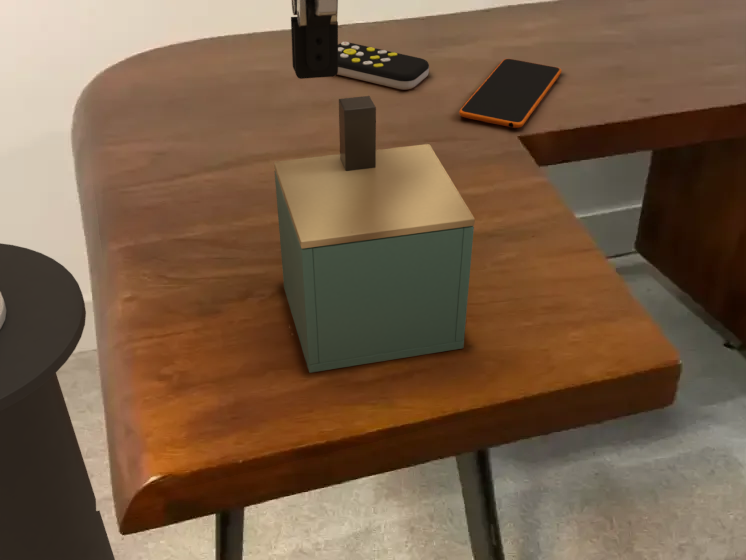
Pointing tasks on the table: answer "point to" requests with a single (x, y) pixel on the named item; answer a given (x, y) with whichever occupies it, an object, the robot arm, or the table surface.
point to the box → (376, 294)
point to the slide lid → (368, 187)
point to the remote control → (380, 66)
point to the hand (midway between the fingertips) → (315, 72)
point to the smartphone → (510, 93)
